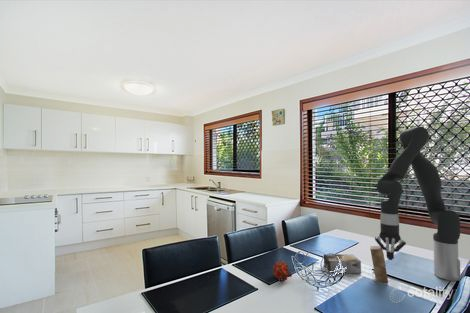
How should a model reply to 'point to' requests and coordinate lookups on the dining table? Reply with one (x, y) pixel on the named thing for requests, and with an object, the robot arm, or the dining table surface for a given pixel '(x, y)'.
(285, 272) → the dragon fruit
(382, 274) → the walnut pillar
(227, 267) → the dining table surface
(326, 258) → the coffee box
